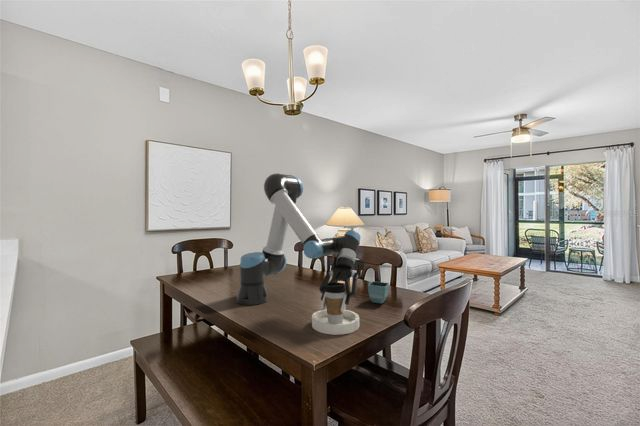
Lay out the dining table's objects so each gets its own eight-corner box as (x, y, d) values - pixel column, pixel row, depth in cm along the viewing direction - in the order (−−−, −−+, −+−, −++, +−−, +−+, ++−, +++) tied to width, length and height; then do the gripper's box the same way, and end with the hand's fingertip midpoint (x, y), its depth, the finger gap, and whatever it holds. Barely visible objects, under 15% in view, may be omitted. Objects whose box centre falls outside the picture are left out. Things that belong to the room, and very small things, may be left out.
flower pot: (389, 300, 154) (389, 282, 154) (385, 305, 146) (385, 286, 146) (372, 298, 158) (372, 281, 158) (367, 303, 150) (367, 284, 150)
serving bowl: (325, 338, 109) (325, 328, 109) (304, 321, 126) (304, 312, 126) (368, 329, 118) (368, 320, 118) (343, 314, 134) (343, 306, 134)
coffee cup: (339, 327, 116) (339, 287, 116) (320, 322, 121) (320, 284, 120) (349, 320, 123) (349, 282, 123) (331, 316, 128) (331, 280, 127)
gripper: (370, 268, 132) (359, 318, 117) (326, 264, 140) (311, 311, 125) (367, 257, 127) (355, 308, 112) (321, 254, 135) (305, 301, 120)
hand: (332, 310), depth 119 cm, fingers closed on coffee cup, 7 cm apart
